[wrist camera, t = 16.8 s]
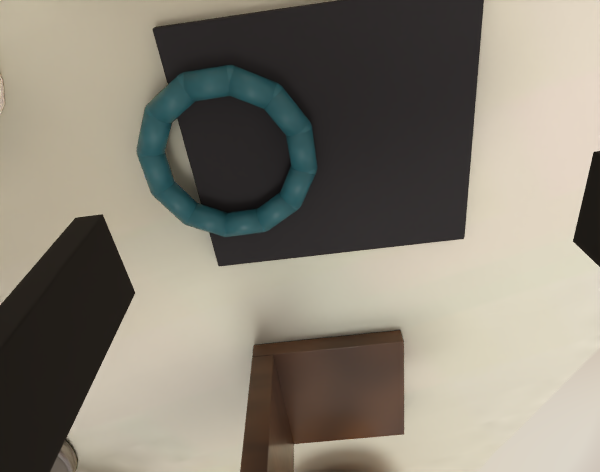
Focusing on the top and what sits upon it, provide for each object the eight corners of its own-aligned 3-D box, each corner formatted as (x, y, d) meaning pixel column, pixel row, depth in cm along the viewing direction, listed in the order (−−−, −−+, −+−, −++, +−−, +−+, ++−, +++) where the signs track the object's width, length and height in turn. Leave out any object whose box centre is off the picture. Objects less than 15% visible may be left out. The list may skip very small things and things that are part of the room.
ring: (324, 216, 34) (173, 236, 34) (301, 50, 27) (117, 80, 28) (325, 228, 32) (167, 249, 33) (302, 56, 26) (107, 87, 27)
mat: (219, 261, 37) (218, 266, 36) (155, 26, 27) (151, 28, 27) (461, 233, 36) (464, 239, 35) (481, -21, 26) (485, -21, 25)
